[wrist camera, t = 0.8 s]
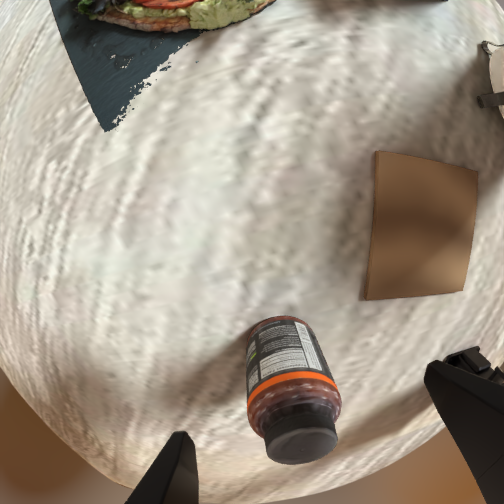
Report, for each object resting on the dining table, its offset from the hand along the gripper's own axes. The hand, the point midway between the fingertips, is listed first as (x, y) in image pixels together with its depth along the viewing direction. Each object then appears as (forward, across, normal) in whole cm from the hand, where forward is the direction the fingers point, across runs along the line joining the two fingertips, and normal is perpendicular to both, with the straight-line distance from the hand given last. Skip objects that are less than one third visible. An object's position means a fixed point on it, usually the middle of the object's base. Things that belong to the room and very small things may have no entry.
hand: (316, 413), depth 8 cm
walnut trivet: (+13, -15, 0) cm, 20 cm away
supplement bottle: (+13, 0, +7) cm, 15 cm away
